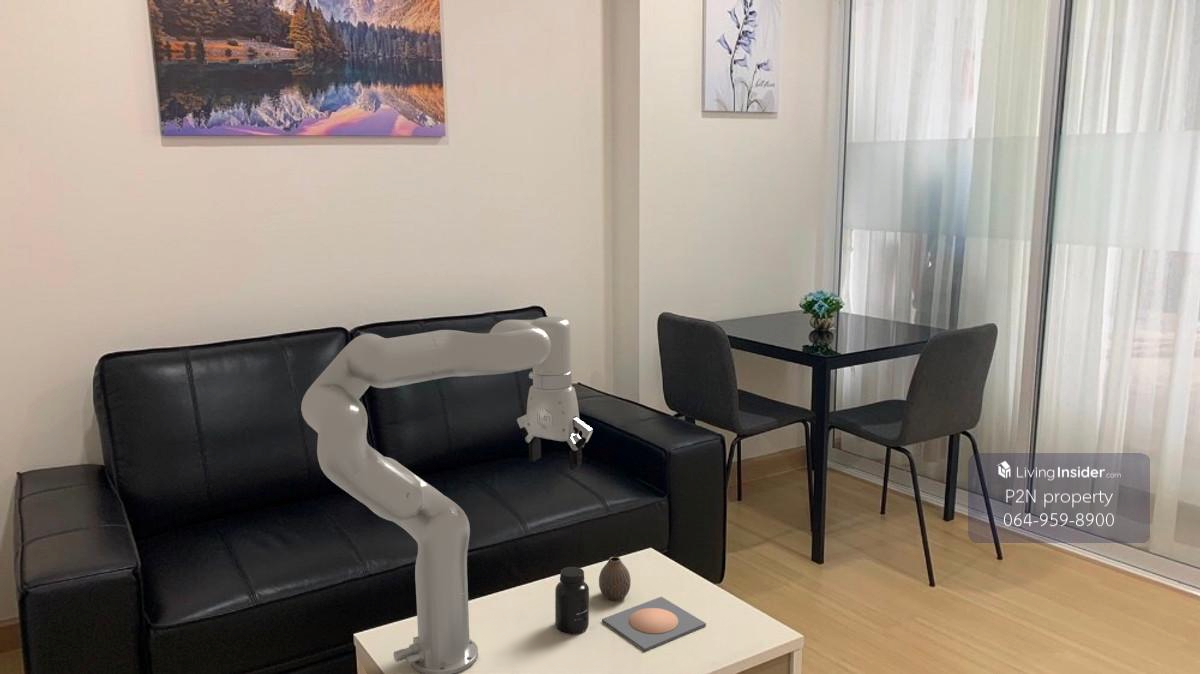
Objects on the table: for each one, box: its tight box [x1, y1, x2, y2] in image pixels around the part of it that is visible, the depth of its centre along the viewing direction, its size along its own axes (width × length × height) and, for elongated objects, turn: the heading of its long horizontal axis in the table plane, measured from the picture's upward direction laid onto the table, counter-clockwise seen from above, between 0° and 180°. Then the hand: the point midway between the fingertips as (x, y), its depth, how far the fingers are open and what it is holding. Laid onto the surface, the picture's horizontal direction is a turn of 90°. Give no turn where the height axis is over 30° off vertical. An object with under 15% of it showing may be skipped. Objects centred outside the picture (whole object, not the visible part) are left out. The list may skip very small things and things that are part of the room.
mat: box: [601, 596, 707, 652], centre depth 175 cm, size 16×14×1 cm
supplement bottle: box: [554, 566, 590, 635], centre depth 173 cm, size 7×7×12 cm
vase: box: [598, 556, 632, 602], centre depth 185 cm, size 7×7×9 cm
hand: (555, 463), depth 170 cm, fingers open, 9 cm apart
